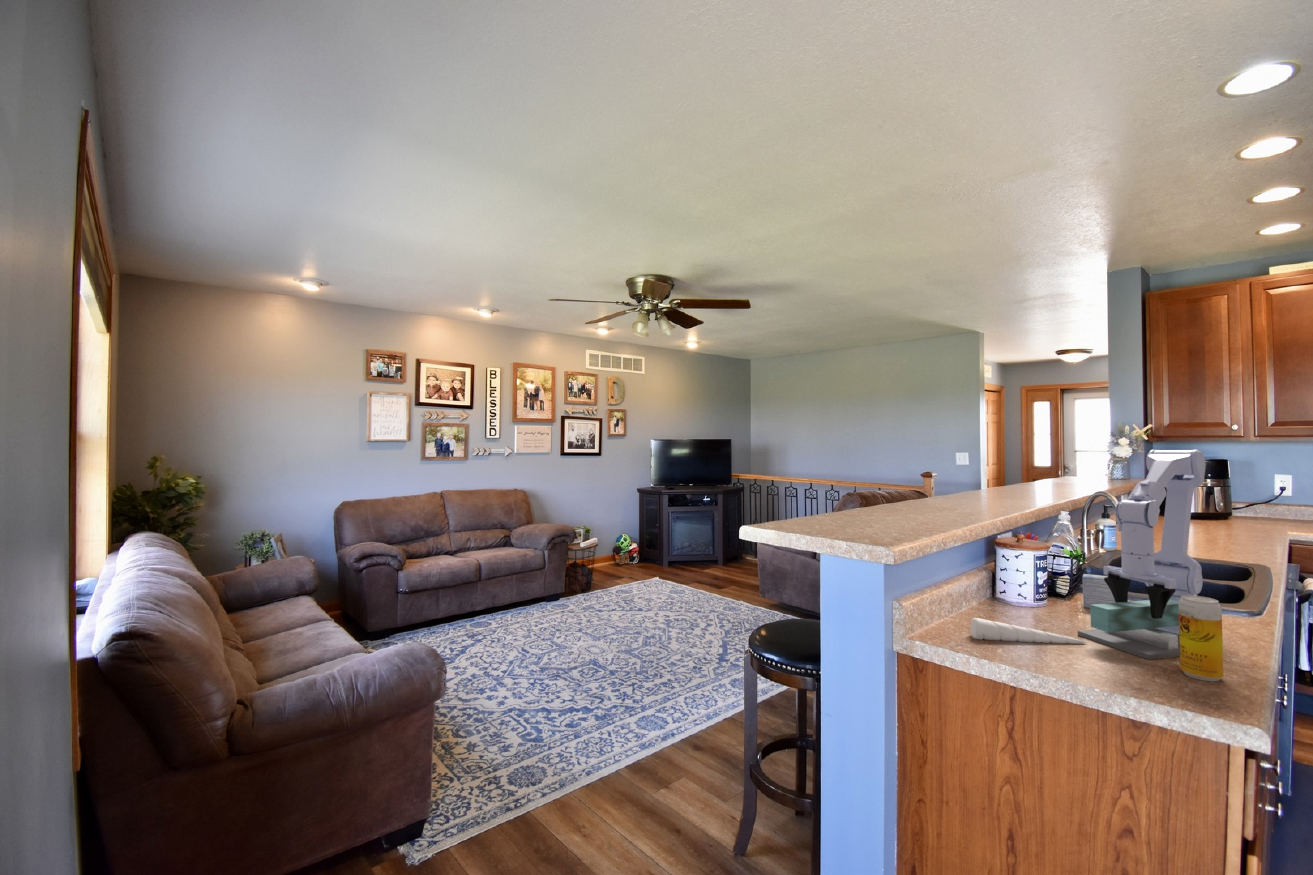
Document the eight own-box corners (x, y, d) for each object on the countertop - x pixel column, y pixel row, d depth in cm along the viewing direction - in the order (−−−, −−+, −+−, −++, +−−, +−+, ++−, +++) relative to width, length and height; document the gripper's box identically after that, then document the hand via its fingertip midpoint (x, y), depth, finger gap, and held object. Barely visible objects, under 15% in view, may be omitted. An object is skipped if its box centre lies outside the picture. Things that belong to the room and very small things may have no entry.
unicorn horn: (1094, 650, 125) (1094, 628, 125) (974, 641, 131) (974, 621, 132) (1085, 643, 129) (1084, 622, 130) (969, 635, 136) (969, 615, 136)
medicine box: (1119, 608, 156) (1118, 577, 156) (1119, 612, 152) (1118, 580, 153) (1083, 603, 161) (1082, 573, 161) (1082, 607, 157) (1082, 576, 157)
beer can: (1171, 670, 113) (1169, 595, 113) (1199, 669, 114) (1197, 594, 114) (1203, 683, 107) (1201, 603, 107) (1232, 681, 107) (1230, 602, 108)
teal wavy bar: (1167, 619, 133) (1167, 598, 133) (1187, 625, 129) (1186, 603, 129) (1090, 626, 128) (1090, 604, 128) (1108, 632, 124) (1107, 609, 124)
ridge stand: (1131, 629, 138) (1131, 613, 138) (1208, 653, 122) (1207, 634, 122) (1077, 634, 134) (1077, 618, 135) (1148, 659, 119) (1148, 640, 119)
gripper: (1092, 548, 135) (1093, 605, 135) (1157, 560, 121) (1159, 623, 121) (1116, 547, 136) (1117, 603, 136) (1183, 558, 122) (1185, 621, 122)
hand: (1138, 613), depth 128 cm, fingers open, 7 cm apart
